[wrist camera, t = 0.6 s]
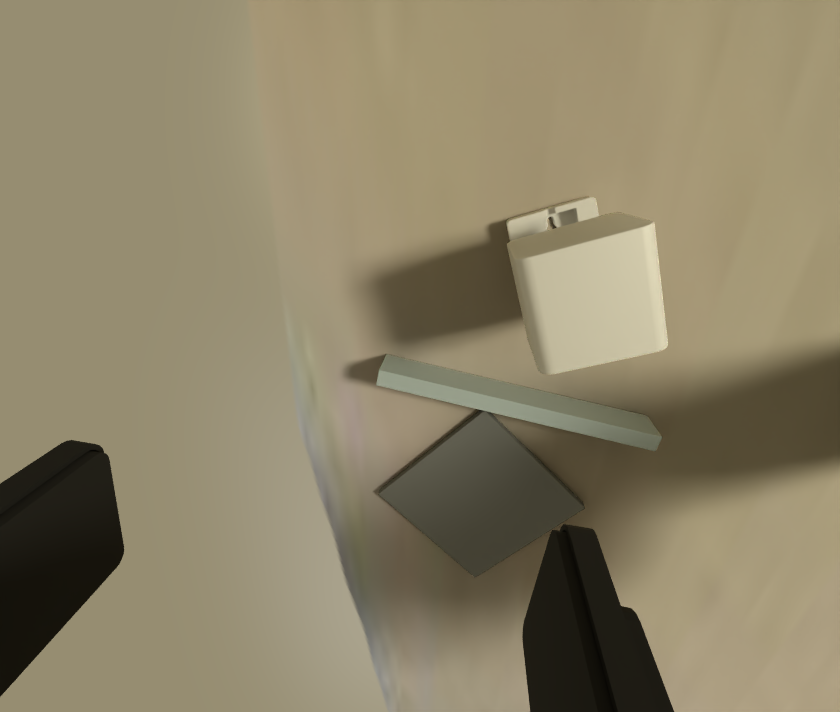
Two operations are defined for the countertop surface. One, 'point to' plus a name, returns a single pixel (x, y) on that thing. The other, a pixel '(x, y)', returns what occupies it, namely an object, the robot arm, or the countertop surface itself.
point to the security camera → (587, 285)
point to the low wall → (518, 402)
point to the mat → (481, 494)
